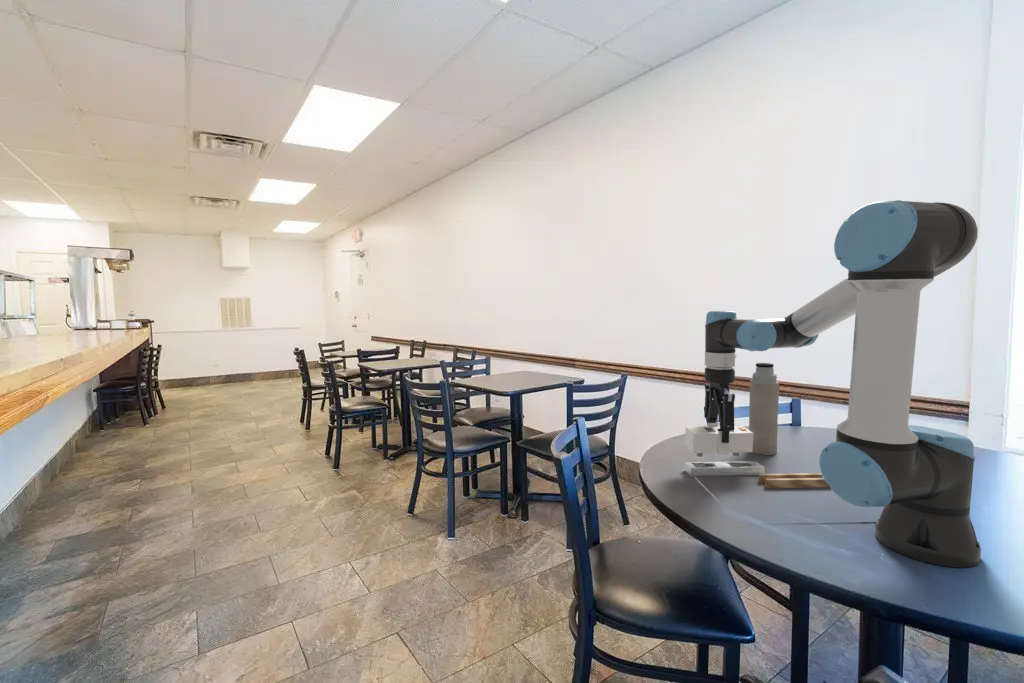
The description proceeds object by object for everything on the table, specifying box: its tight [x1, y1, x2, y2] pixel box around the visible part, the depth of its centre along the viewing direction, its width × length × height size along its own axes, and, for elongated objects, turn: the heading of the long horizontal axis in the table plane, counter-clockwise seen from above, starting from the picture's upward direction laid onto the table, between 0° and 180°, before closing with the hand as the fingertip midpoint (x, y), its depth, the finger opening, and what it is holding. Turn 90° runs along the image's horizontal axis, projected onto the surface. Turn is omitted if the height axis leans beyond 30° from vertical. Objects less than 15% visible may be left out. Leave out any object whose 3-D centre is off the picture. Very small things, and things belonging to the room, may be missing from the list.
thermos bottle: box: [748, 362, 780, 456], centre depth 143 cm, size 8×8×28 cm
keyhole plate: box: [684, 460, 766, 478], centre depth 127 cm, size 5×20×2 cm, turn 89°
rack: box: [758, 472, 830, 489], centre depth 117 cm, size 16×4×2 cm, turn 89°
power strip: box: [684, 425, 753, 457], centre depth 126 cm, size 16×6×8 cm, turn 89°
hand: (717, 449), depth 126 cm, fingers closed on power strip, 6 cm apart
